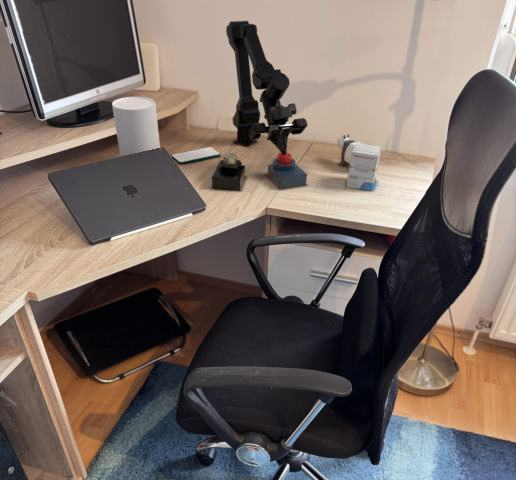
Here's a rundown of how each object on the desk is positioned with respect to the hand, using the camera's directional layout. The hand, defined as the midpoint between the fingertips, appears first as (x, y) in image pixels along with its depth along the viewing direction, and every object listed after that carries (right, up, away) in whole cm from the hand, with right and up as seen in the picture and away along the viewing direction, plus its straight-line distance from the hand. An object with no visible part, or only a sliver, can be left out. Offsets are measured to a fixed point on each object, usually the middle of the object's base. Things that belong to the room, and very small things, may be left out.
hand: (284, 154), depth 162 cm
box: (+1, -7, +4) cm, 8 cm away
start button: (0, -2, +2) cm, 3 cm away
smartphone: (-31, +5, +17) cm, 35 cm away
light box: (-18, -9, +1) cm, 20 cm away
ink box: (+25, -9, +4) cm, 27 cm away
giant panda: (+24, +1, +15) cm, 28 cm away
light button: (-18, -3, 0) cm, 18 cm away
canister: (-49, 0, +10) cm, 50 cm away
